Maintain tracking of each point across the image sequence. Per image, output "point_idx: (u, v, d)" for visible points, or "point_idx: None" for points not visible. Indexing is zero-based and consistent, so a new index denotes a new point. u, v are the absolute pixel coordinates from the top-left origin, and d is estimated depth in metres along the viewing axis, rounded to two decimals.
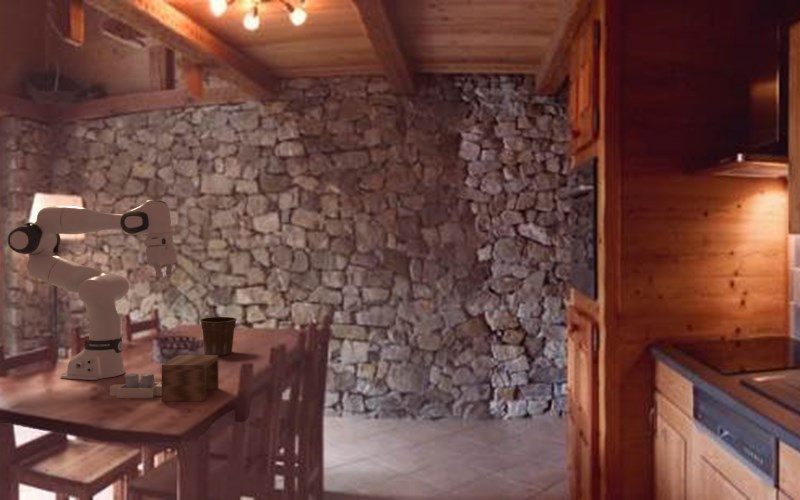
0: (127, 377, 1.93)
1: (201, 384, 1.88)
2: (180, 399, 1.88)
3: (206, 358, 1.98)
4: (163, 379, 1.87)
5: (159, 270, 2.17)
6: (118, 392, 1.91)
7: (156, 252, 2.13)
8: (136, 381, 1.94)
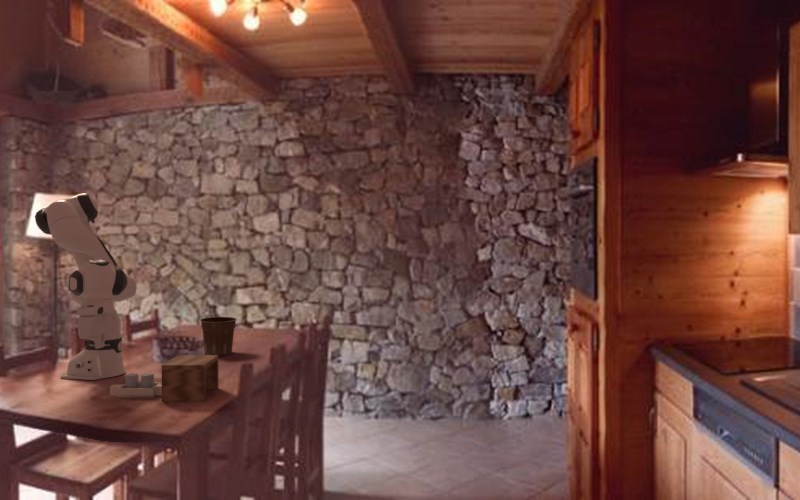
0: (127, 377, 1.93)
1: (201, 384, 1.88)
2: (180, 399, 1.88)
3: (206, 358, 1.98)
4: (163, 379, 1.87)
5: (98, 341, 1.92)
6: (118, 392, 1.91)
7: (89, 324, 1.85)
8: (136, 381, 1.94)
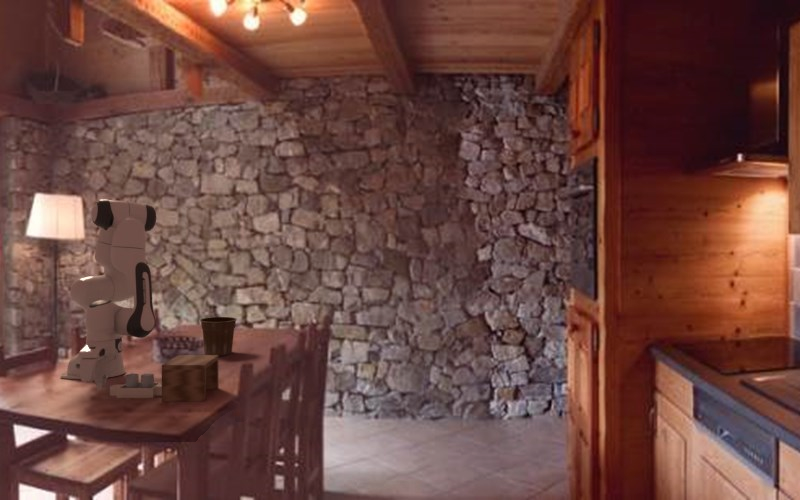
0: (127, 377, 1.93)
1: (201, 384, 1.88)
2: (180, 399, 1.88)
3: (206, 358, 1.98)
4: (163, 379, 1.87)
5: (100, 382, 1.93)
6: (118, 392, 1.91)
7: (91, 367, 1.85)
8: (136, 381, 1.94)
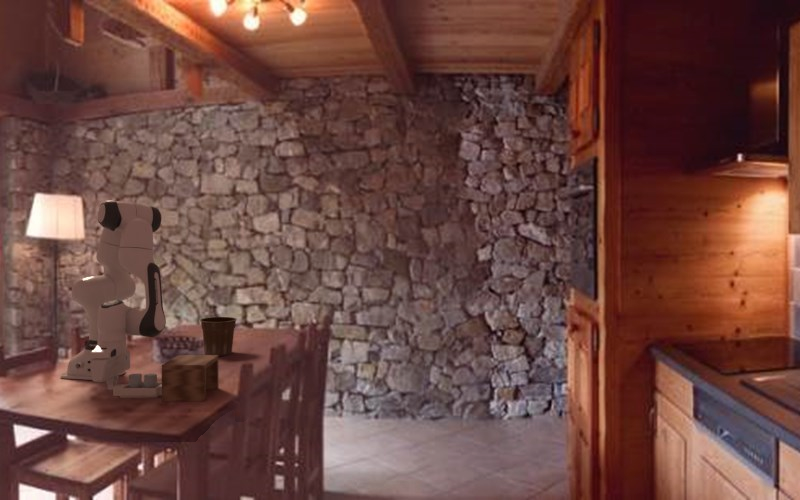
0: (130, 377, 1.93)
1: (201, 384, 1.88)
2: (180, 399, 1.88)
3: (206, 358, 1.98)
4: (163, 379, 1.87)
5: (111, 382, 1.93)
6: (121, 392, 1.91)
7: (102, 367, 1.85)
8: (139, 381, 1.94)
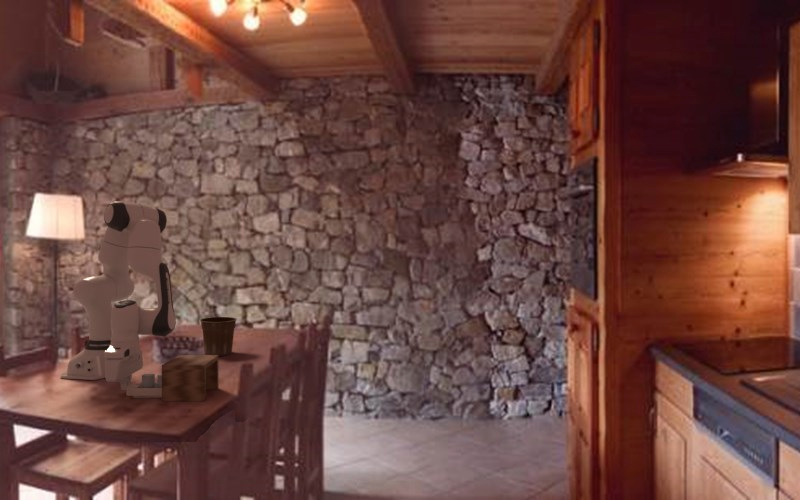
0: (143, 377, 1.93)
1: (201, 384, 1.88)
2: (180, 399, 1.88)
3: (206, 358, 1.98)
4: (163, 379, 1.87)
5: (124, 382, 1.93)
6: (135, 392, 1.91)
7: (116, 367, 1.85)
8: (152, 381, 1.94)
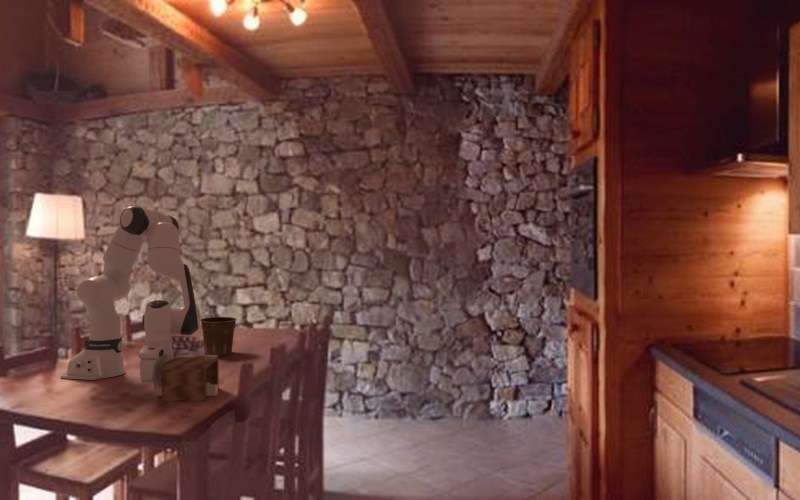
0: None
1: (201, 384, 1.88)
2: (180, 399, 1.88)
3: (206, 358, 1.98)
4: (163, 379, 1.87)
5: (157, 382, 1.93)
6: None
7: (151, 367, 1.85)
8: None
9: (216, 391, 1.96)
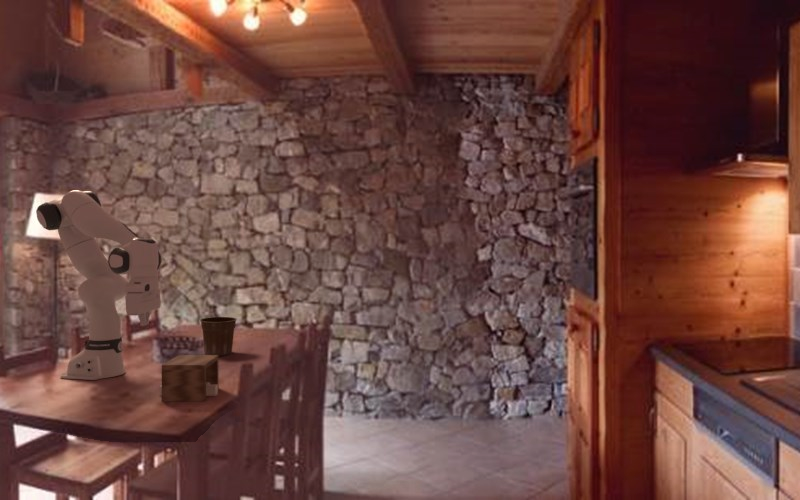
0: None
1: (201, 384, 1.88)
2: (180, 399, 1.88)
3: (206, 358, 1.98)
4: (163, 379, 1.87)
5: (143, 318, 1.93)
6: None
7: (137, 301, 1.85)
8: None
9: (216, 391, 1.96)
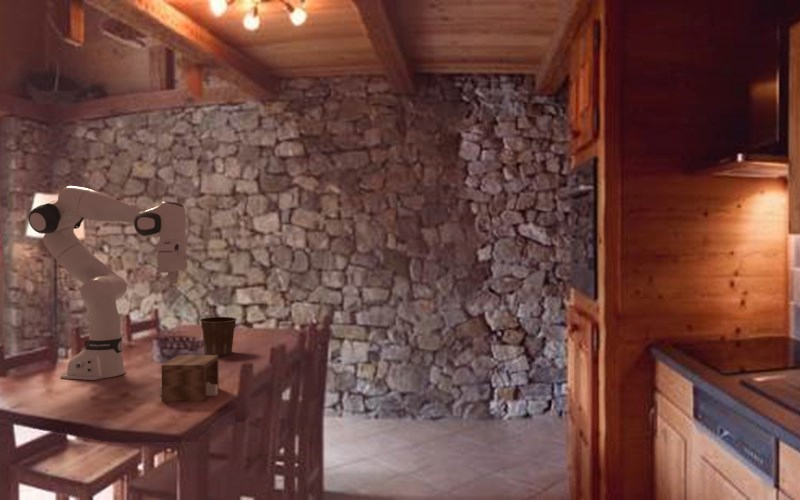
0: None
1: (201, 384, 1.88)
2: (180, 399, 1.88)
3: (206, 358, 1.98)
4: (163, 379, 1.87)
5: (173, 277, 2.07)
6: None
7: (168, 259, 1.99)
8: None
9: (216, 391, 1.96)
